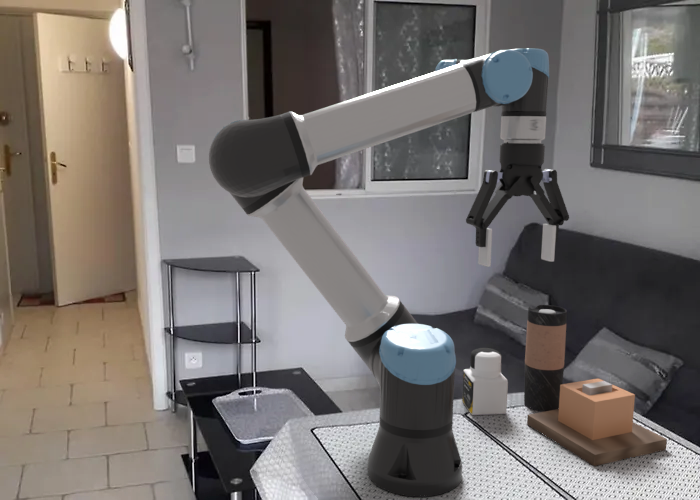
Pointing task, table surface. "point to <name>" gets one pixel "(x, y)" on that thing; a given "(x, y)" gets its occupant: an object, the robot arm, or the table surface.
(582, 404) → the tan cube with window
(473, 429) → the table surface
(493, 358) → the medicine bottle
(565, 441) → the stand
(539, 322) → the travel mug
